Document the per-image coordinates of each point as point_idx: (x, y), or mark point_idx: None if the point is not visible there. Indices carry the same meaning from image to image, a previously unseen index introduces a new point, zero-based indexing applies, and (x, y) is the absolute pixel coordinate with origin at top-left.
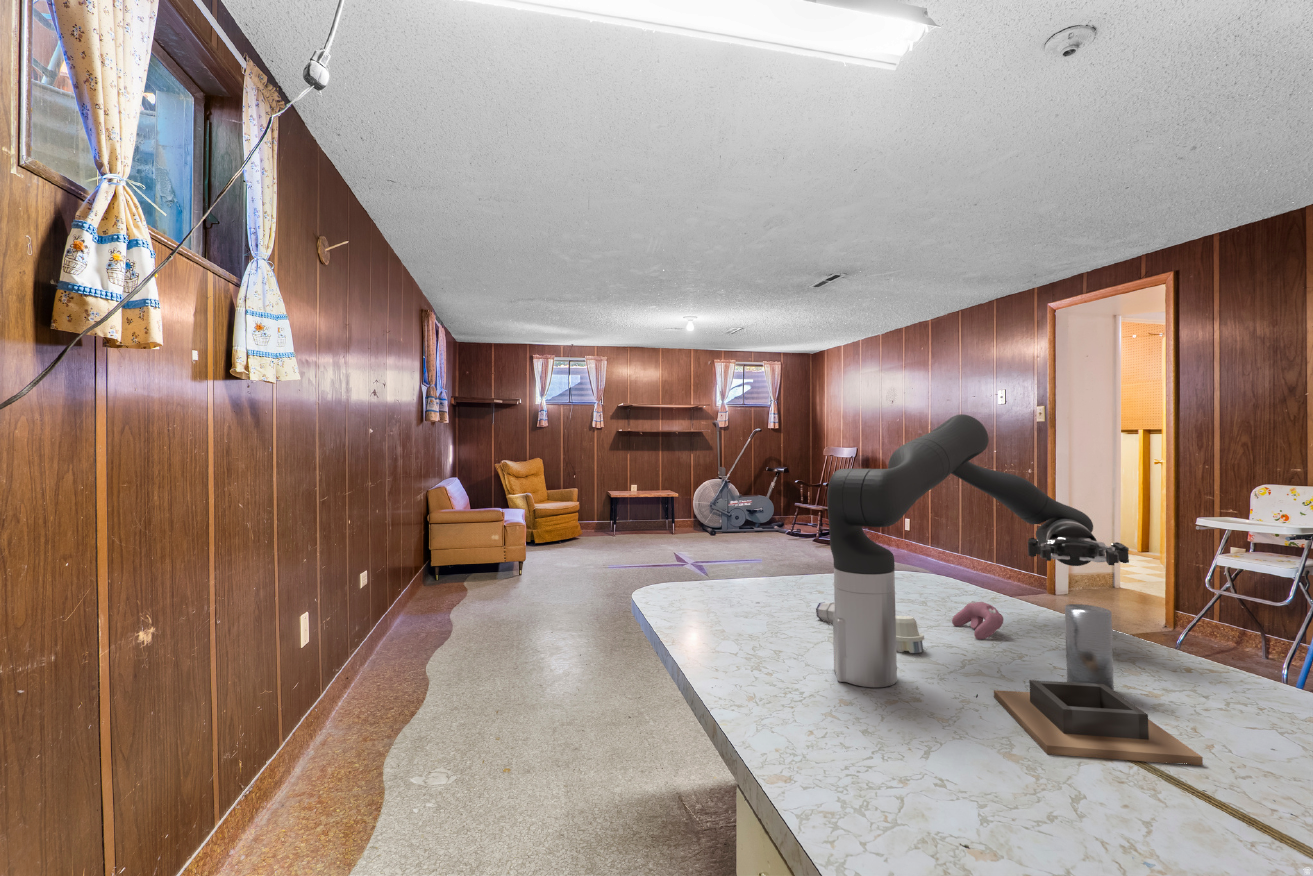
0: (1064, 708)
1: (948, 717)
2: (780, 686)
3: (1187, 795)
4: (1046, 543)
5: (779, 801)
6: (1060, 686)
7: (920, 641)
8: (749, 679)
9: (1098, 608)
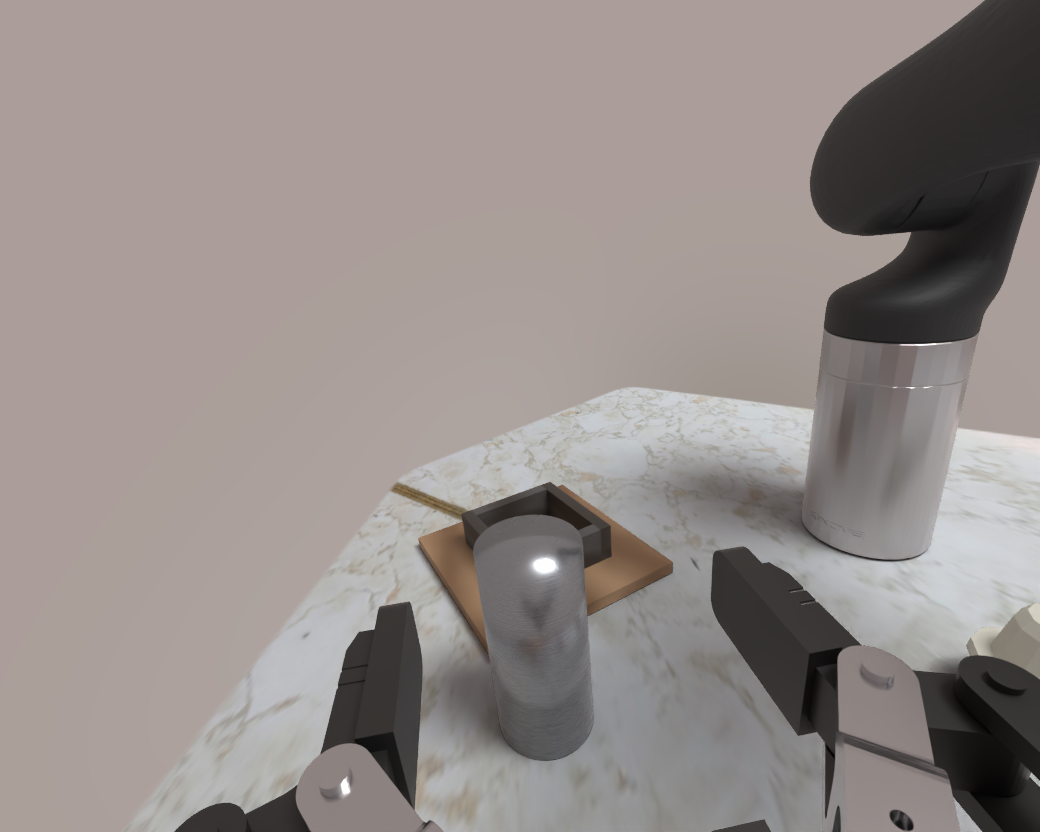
0: (549, 483)
1: (678, 499)
2: None
3: (450, 499)
4: (877, 699)
5: (679, 393)
6: None
7: None
8: None
9: (502, 564)
